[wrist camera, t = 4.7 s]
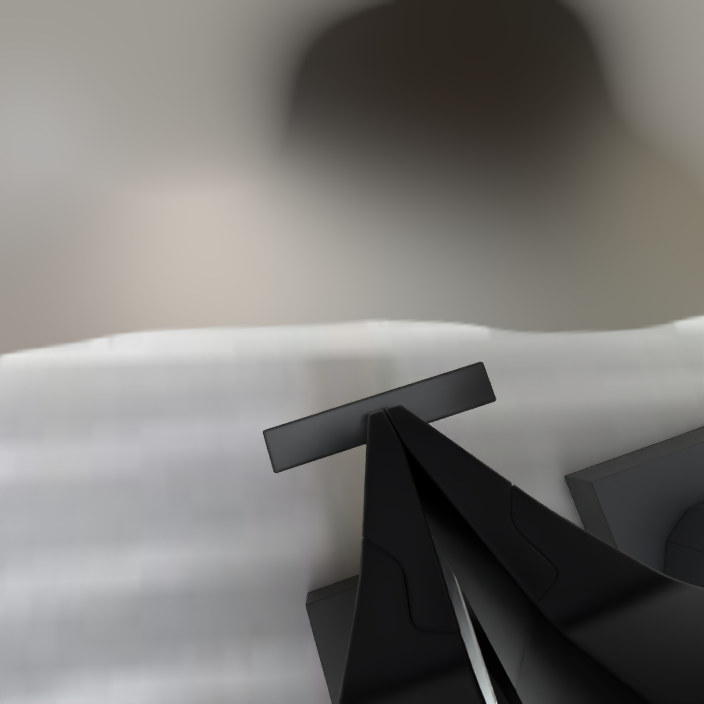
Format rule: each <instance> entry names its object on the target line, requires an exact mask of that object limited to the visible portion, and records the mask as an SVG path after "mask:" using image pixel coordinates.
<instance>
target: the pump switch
mask: <svg viewBox="0 0 704 704" xmlns="http://www.w3.org/2000/svg"><path fill="white" fill-rule="evenodd" d="M565 478H566V480H567V483H568V485H569V488H570V491H571V493H572V496H573V498H574V501H575V503H576V506H577V509H578V511H579V514H580V516H581V519H582V521H583V524H584V527H585V529H586V531H587V532H589V533H591V534H593V535H594V536H596V537H598V538H600V539H601V540H603V541H605V542H607V543H608V544H610V545H612V546H614V547H615V548H617V549H619V550H620V551H622V552H624V553H626V554H627V555H629V556H631V557H633V558H634V559H636V560H638V561H640V562H641V563H643V564H645V565H647V566H649V567H651V568H652V569H654V570H656V571H659V572H661V573H663V574H665V575H667V576H670V577H672V578H674V579H677V580H679V581H682V582H685V583H688V584H691V585H695V586H698V587H702V588H704V427H702V428H699V429H697V430H694V431H691V432H688V433H685V434H682V435H680V436H677V437H674V438H671V439H668V440H666V441H663V442H660V443H657V444H654V445H651V446H649V447H646V448H643V449H640V450H637V451H635V452H632V453H629V454H626V455H623V456H620V457H618V458H615V459H612V460H609V461H606V462H604V463H601V464H598V465H595V466H592V467H590V468H587V469H584V470H581V471H578V472H575V473H573V474H570V475H567V476H565Z"/></svg>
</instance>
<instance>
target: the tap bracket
mask: <svg viewBox="0 0 704 704" xmlns="http://www.w3.org/2000/svg"><path fill="white" fill-rule="evenodd" d="M358 583H359V575H356V576H354V577H351V578H348V579H345V580H343V581H340V582H337V583H334V584H332V585H329V586H326V587H323V588H320V589H318V590H315V591H312V592H309V593H308V594H307V600H306V609H307V613H308V616H309V620H310V624H311V627H312V631H313V635H314V638H315V642H316V646H317V650H318V653H319V657H320V661H321V664H322V668H323V672H324V675H325V679H326V683H327V686H328V690H329V694H330V697H331V701H332V704H337V703H338V698H339V694H340V689H341V684H342V679H343V673H344V668H345V662H346V656H347V651H348V645H349V639H350V634H351V628H352V622H353V617H354V611H355V604H356V597H357V590H358ZM458 583H459V582H458ZM459 586H460V584H459ZM460 589H461V592H462V595H463V598H464V601H465V604H466V607H467V610H468V613H469V616H470V619H471V622H472V626H473V629H474V632H475V635H476V638H477V641H478V644H479V647H480V650H481V653H482V656H483V659H484V662H485V665H486V668H487V671H488V674H489V677H490V681H491V684H492V687H493V690H494V693H495V696H496V699H497V702H498V704H523V703H522V701H521V699H520V697H519V696H518V694H517V691H516V690H517V689H515V688H514V686H513V684H512V682H511V680H510V678H509V676H508V675H507V673H506V671H505V669H504V667H503V665H502V663H501V661H500V660H499V658H498V656H497V654H496V652H495V650H494V648H493V646H492V645H491V643H490V641H489V639H488V637H487V635H486V633H485V631H484V629H483V628H482V626H481V624H480V622H479V620H478V618H477V616H476V614H475V613H474V611H473V609H472V607H471V605H470V603H469V601H468V599H467V597H466V596H465V594H464V592H463V590H462V588H461V586H460Z"/></svg>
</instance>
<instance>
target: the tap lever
mask: <svg viewBox="0 0 704 704" xmlns="http://www.w3.org/2000/svg"><path fill="white" fill-rule="evenodd" d="M495 401H496V397H495V395H494V392H493V389H492V386H491V383H490V381H489V378H488V375H487V372H486V369H485V367H484V364H483V362H478V363H475V364H472V365H468V366H465V367H462V368H459V369H456V370H453V371H449V372H446V373H443V374H440V375H437V376H434V377H430V378H427V379H424V380H421V381H418V382H415V383H411V384H408V385H405V386H402V387H399V388H396V389H393V390H389V391H386V392H383V393H380V394H377V395H374V396H370V397H367V398H364V399H361V400H358V401H355V402H351V403H348V404H345V405H342V406H339V407H336V408H332V409H329V410H326V411H323V412H320V413H317V414H313V415H310V416H307V417H304V418H301V419H298V420H295V421H291V422H288V423H285V424H282V425H279V426H276V427H272V428H269V429H266V430H264V431H263V435H264V439H265V443H266V446H267V450H268V453H269V457H270V460H271V464H272V468H273V471H274V473H279V472H282V471H285V470H288V469H291V468H294V467H297V466H300V465H303V464H306V463H309V462H312V461H315V460H318V459H321V458H324V457H327V456H330V455H333V454H336V453H340V452H343V451H346V450H349V449H352V448H355V447H358V446H361V445H364V444H366V443H367V422H368V415H369V414H370V413H373V412H376V411H379V410H384V411H385V409H386V408H388V407H391V406H395V405H398V404H400V405H402V406H404V407H405V408H406V409H408V410H409V411H411V412H412V413H414V414H415V415H416V416H418V417H419V418H421V419H422V420H423V421H425V422H426V423H431V422H434V421H437V420H440V419H443V418H446V417H449V416H452V415H455V414H458V413H461V412H464V411H467V410H471V409H474V408H477V407H480V406H483V405H486V404H489V403H492V402H495ZM429 529H430V528H429ZM430 533H431V536H432V539H433V542H434V546H435V549H436V552H437V555H438V558H439V562H440V565H441V568H442V571H443V574H444V578H445V581H446V584H447V587H448V591H449V594H450V597H451V600H452V603H453V607H454V610H455V613H456V616H457V620H458V623H459V626H460V629H461V635H462V637H463V639H464V642H465V645H466V648H467V651H468V654H469V657H470V660H471V663H472V666H473V669H474V672H475V675H476V677H477V680H478V682H479V685H480V688H481V690H482V693H483V695H484V698H485V700H486V703H487V704H498V702H497V699H496V696H495V693H494V690H493V687H492V684H491V681H490V677H489V674H488V671H487V668H486V665H485V662H484V659H483V656H482V653H481V650H480V647H479V644H478V641H477V638H476V635H475V632H474V629H473V626H472V622H471V619H470V616H469V613H468V610H467V607H466V604H465V601H464V598H463V595H462V592H461V589H460V586H459V583H458V581H457V579H456V577H455V575H454V573H453V571H452V569H451V567H450V565H449V564H448V562H447V560H446V558H445V556H444V554H443V552H442V550H441V549H440V547H439V545H438V543H437V541H436V539H435V537H434V535H433V533H432V532H431V530H430Z"/></svg>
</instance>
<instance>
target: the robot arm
mask: <svg viewBox="0 0 704 704" xmlns="http://www.w3.org/2000/svg"><path fill="white" fill-rule="evenodd" d="M429 528H430V529H429ZM430 530H431V532H432V533H433V535H434V537H435V539H436V541H437V543H438V545H439V547H440V549H441V550H442V552H443V554H444V556H445V558H446V560H447V562H448V564H449V565H450V567H451V569H452V571H453V573H454V575H455V577H456V579H457V581H458V582H459V584H460V586H461V588H462V590H463V592H464V594H465V596H466V597H467V599H468V601H469V603H470V605H471V607H472V609H473V611H474V613H475V614H476V616H477V618H478V620H479V622H480V624H481V626H482V628H483V629H484V631H485V633H486V635H487V637H488V639H489V641H490V643H491V645H492V646H493V648H494V650H495V652H496V654H497V656H498V658H499V660H500V661H501V663H502V665H503V667H504V669H505V671H506V673H507V675H508V676H509V678H510V680H511V682H512V684H513V686H514V688H515V689H517V690H516V691H517V694H518V696H519V697H520V699H521V701H522V703H523V704H704V588H702V587H698V586H695V585H691V584H688V583H685V582H682V581H679V580H677V579H674V578H672V577H670V576H667V575H665V574H663V573H661V572H659V571H656V570H654V569H652V568H651V567H649V566H647V565H645V564H643V563H641V562H640V561H638V560H636V559H634V558H633V557H631V556H629V555H627V554H626V553H624V552H622V551H620V550H619V549H617V548H615V547H614V546H612V545H610V544H608V543H607V542H605V541H603V540H601V539H600V538H598V537H596V536H594V535H593V534H591V533H589V532H587V531H586V530H584V529H582V528H580V527H579V526H577V525H575V524H574V523H572V522H570V521H569V520H567V519H565V518H564V517H562V516H560V515H559V514H557V513H555V512H554V511H552V510H550V509H549V508H547V507H546V506H544V505H543V504H541V503H540V502H538V501H537V500H536V499H534V498H533V497H531V496H530V495H528V494H527V493H525V492H524V491H523V490H521V489H520V488H518V487H517V486H516V485H512V483H511V482H510V481H508V480H507V479H505V478H504V477H503V476H501V475H500V474H498V473H497V472H496V471H494V470H493V469H491V468H490V467H488V466H487V465H486V464H484V463H483V462H481V461H480V460H479V459H477V458H476V457H474V456H473V455H471V454H470V453H469V452H467V451H466V450H464V449H463V448H462V447H460V446H459V445H457V444H456V443H455V442H453V441H452V440H450V439H449V438H447V437H446V436H445V435H443V434H442V433H440V432H439V431H438V430H436V429H435V428H433V427H432V426H430V425H429V424H428V423H426V422H425V421H423V420H422V419H421V418H419V417H418V416H416V415H415V414H414V413H412V412H411V411H409V410H408V409H406V408H405V407H404V406H402V405H400V404H398V405H395V406H391V407H388V408H386V409H385V411H384V410H379V411H376V412H373V413H370V414H369V415H368V422H367V443H366V464H365V485H364V506H363V527H362V537H363V539H362V543H361V561H360V573H359V583H358V590H357V597H356V604H355V611H354V617H353V622H352V628H351V634H350V639H349V645H348V651H347V656H346V662H345V668H344V673H343V679H342V684H341V689H340V694H339V698H338V703H337V704H487V703H486V700H485V698H484V695H483V693H482V690H481V688H480V685H479V682H478V680H477V677H476V675H475V672H474V669H473V666H472V663H471V660H470V657H469V654H468V651H467V648H466V645H465V642H464V639H463V637H462V635H461V629H460V626H459V623H458V620H457V616H456V613H455V610H454V607H453V603H452V600H451V597H450V594H449V591H448V587H447V584H446V581H445V578H444V574H443V571H442V568H441V565H440V562H439V558H438V555H437V552H436V549H435V546H434V542H433V539H432V536H431V533H430Z"/></svg>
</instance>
